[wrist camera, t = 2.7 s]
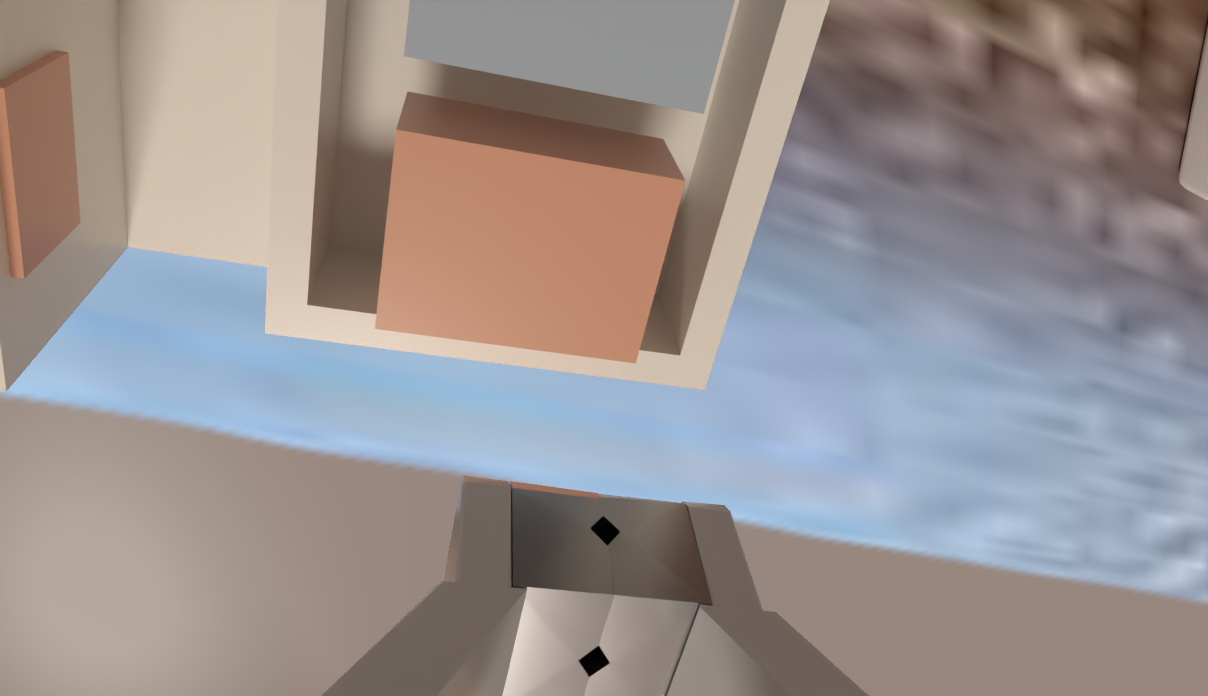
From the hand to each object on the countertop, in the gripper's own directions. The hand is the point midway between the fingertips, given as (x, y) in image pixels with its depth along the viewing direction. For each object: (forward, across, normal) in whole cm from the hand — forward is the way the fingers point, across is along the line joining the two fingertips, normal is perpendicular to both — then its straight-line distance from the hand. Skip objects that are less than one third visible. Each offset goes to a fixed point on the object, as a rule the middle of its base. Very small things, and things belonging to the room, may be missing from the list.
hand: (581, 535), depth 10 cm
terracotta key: (+10, +1, 0) cm, 10 cm away
